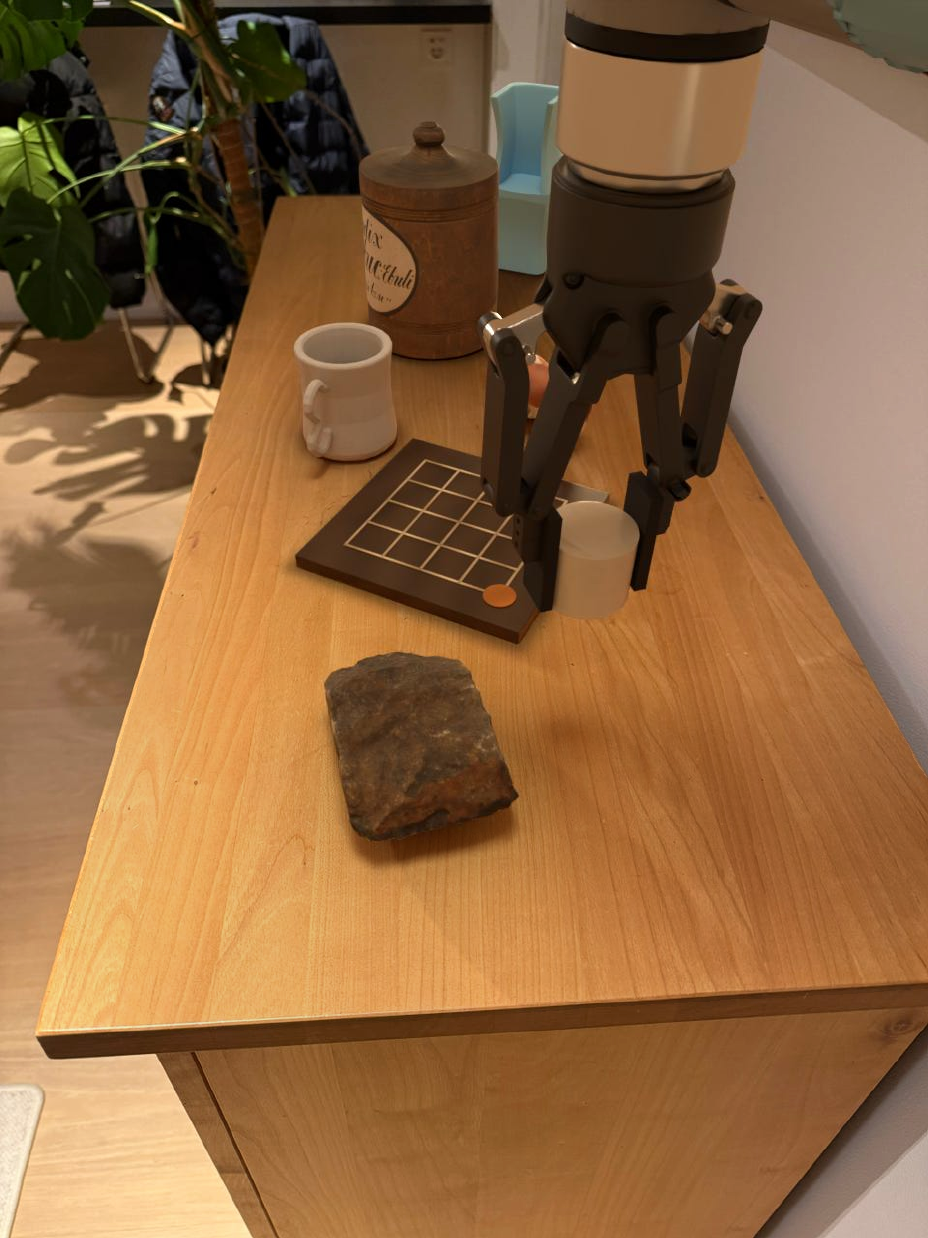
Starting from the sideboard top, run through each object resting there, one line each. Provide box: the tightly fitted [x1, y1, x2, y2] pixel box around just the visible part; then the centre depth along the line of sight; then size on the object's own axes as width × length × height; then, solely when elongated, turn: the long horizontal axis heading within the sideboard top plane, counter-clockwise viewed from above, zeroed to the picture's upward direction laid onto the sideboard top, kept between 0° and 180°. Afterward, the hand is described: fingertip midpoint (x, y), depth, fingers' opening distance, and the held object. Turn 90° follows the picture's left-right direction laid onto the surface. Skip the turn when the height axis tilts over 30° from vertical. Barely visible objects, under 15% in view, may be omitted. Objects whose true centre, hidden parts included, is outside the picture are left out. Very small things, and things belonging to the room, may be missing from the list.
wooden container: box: [358, 120, 499, 360], centre depth 99 cm, size 15×15×22 cm
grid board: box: [294, 437, 611, 644], centre depth 78 cm, size 20×20×1 cm
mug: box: [293, 322, 398, 462], centre depth 85 cm, size 12×9×10 cm
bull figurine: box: [527, 353, 593, 435], centre depth 88 cm, size 4×13×8 cm, turn 36°
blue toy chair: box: [489, 81, 563, 276], centre depth 115 cm, size 8×8×20 cm
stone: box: [323, 651, 520, 843], centre depth 58 cm, size 10×14×6 cm
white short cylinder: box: [552, 501, 640, 621], centre depth 52 cm, size 5×5×4 cm
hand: (584, 585), depth 53 cm, fingers closed on white short cylinder, 5 cm apart
